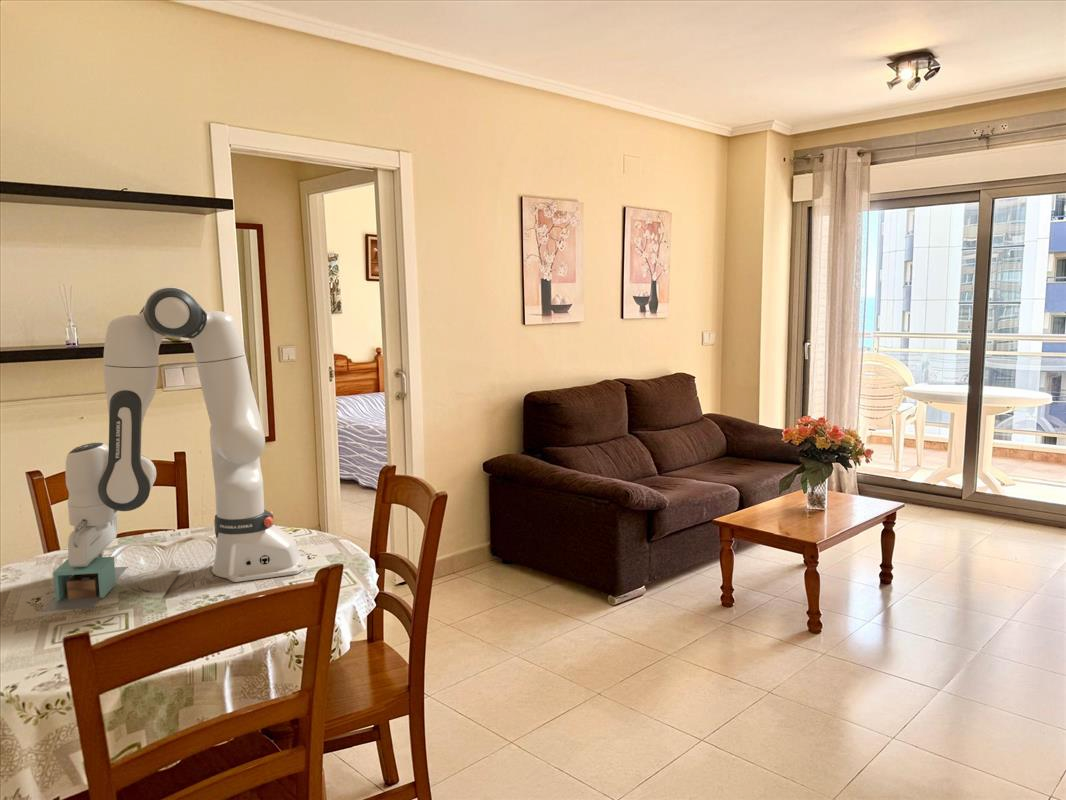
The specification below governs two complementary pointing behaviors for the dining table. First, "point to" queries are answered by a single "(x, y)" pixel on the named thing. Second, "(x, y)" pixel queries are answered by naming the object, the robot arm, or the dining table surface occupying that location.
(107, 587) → the cover
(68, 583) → the block
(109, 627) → the dining table surface
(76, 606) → the housing base
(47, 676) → the dining table surface
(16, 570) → the dining table surface
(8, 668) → the dining table surface
